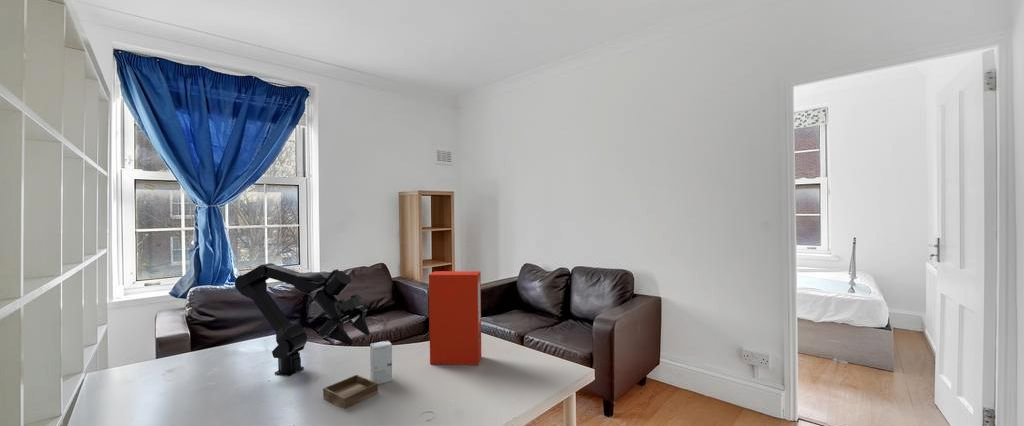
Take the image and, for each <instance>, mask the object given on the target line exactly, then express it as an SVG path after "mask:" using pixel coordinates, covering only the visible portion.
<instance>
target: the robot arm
mask: <svg viewBox="0 0 1024 426" xmlns="http://www.w3.org/2000/svg"><path fill="white" fill-rule="evenodd" d="M269 279H272V280H274V281H275V280H276V281H277V282H278V281H279V282H281V283H285V284H288V285H291V286H292V287H294V288H295V290H297V291H298V292H300V293H303V294H305V295H308V294H311V293H314V292H315V293H314V294H312V295H310V296H309V300H308V305H314V304H316V305H317V306H318V307H319V308H320V309H321V310H322V311H323V313H322V316H323V317H327V318H328V319H327V320H326V321H325V322H324V324H322V326H320V327H319V329H318V335H320V337H321V338H322V339H324V338H326V339H331V340H334V341H337V342H341V343H342V344H346V345H348V346H353V345H354V342H353V339H352V338H351V337H350V335H348V333H347V332H346V330H345V329H344V324H345V323H347V322H348V323H351V326H352V327H354V328H355V329H356V330H358V331H359V332H361V333H362V334H363V335H366V336H369V335H370V334H371V333H370V332H371V331H370V330H369V326H368V324H367V322H366V314H367V311H368V308H367V307H366V305H362V301H363V298H362V296H360V294H359V293H355V294H353V295H351V296H350V298H349V299H347V300H345V299H339V298H338V297H337V296H340V295H341V294H342V293H343V292H344V290H346V288H347V287H348V286H349V285H350V284H351V282H352V279H351V277H350V275H349V274H347V273H345V272H343V271H340V270H339V269H338V268H337V269H332V271H331V272H330V274H329V275H328V276H327V277H326V276H323V274H321V273H319V272H318V273H317V272H299V271H296V270H293V269H290V268H286V267H283V266H280V265H278V264H274V263H272V262H268V263H265V264H259V265H258V266H257V267H255V268H254V269H252V270H250V271H248V272H246V273H244V274H241V275H237V277H236V279H235V281H234V287H235V289H236V291H238V293H240V294H241V295H242V296H244V297H246V298H248V299H251V300H252V301H253V303H254V304H255V305H256V307H257V309H258V310H259V311H260V313H262V315H263V317H264V318H265V319H266V321H267V322H268V324H269V325H270V326H271V327H272V329H273V330H274V331H275V341H276V343H277V346H275V348H274V349H273V350H272V351H271V353H272V356H273V358H274V359H277V362H278V363H277V365H278V366H277V367H278V368H277V369H278V370H276V371H274V375H280V376H286V377H290V376H292V375H294V374H296V373H298V372H299V371H302V370H303V369H304V368H305V367H304V366H303V365H302V364H301V363H302V362H301V361H302V360H301V359H302V358H301V353H300V352H301V351H304V349H305V346H306V344H307V342H308V335H307V331H306V330H305V329H304V328H303V326H302V324H301V323H300V322H298V323H295V324H294V323H291V322H290V320H289V319H288V318H287V316H286V315H285V313H284V312H283V311H282V309H281V308H280V306H279V305H278V304H277V303H276V301H275V300H274V298H273V297H272V295H270V293H269V292H268V283H267V281H268V280H269Z"/></svg>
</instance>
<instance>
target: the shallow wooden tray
mask: <svg viewBox="0 0 1024 426" xmlns="http://www.w3.org/2000/svg"><path fill="white" fill-rule="evenodd" d="M377 394H379V384H378V383H375V382H373V381H371V380H370V379H368V378H365V377H363V376H361V375H359V374H355V375H352V376H350V377H348V378H345V379H342V380H340V381H337V382H335V383H333V384H330V385H328V386H326V387H323V388H322V397H323V400H325V401H328V402H329V403H331V404H334V405H335V406H338V407H339V408H342V409H343V410H346V409H349V408H351V407H353V406H355V405H357V404H359V403H361V402H363V401H365V400H368V399H369V398H371V397H374V396H376V395H377Z"/></svg>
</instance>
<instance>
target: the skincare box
mask: <svg viewBox="0 0 1024 426" xmlns="http://www.w3.org/2000/svg"><path fill="white" fill-rule="evenodd" d="M369 348H370V349H369V351H370V352H369V356H370V363H369V364H370V366H369V367H370V374H369V375H370V379H369V380H371V381H373V382H375V383H378V385H380V384H384V383H385V384H386V383H389V382H392V381H393V343H391V341H389V340H384V341H379V342H374V343H373V342H372V343H370V344H369Z"/></svg>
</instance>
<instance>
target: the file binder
mask: <svg viewBox="0 0 1024 426" xmlns="http://www.w3.org/2000/svg"><path fill="white" fill-rule="evenodd" d="M481 278H482V277H481V271H479V270H478V271H474V270H473V271H466V270H465V271H464V270H463V271H460V270H459V271H457V270H456V271H455V270H452V271H451V270H449V271H448V270H445V271H444V270H443V271H440V270H437V271H436V270H435V271H433V272H431V273H430V274H428V306H429V307H428V309H429V310H428V311H429V312H428V313H429V314H428V315H429V320H428V321H429V324H428V325H429V365H430V364H431V365H469V366H470V365H473V366H474V365H475V366H479V364H480V362H481V360H482V292H481V291H482V287H481V285H482V283H481Z"/></svg>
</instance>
